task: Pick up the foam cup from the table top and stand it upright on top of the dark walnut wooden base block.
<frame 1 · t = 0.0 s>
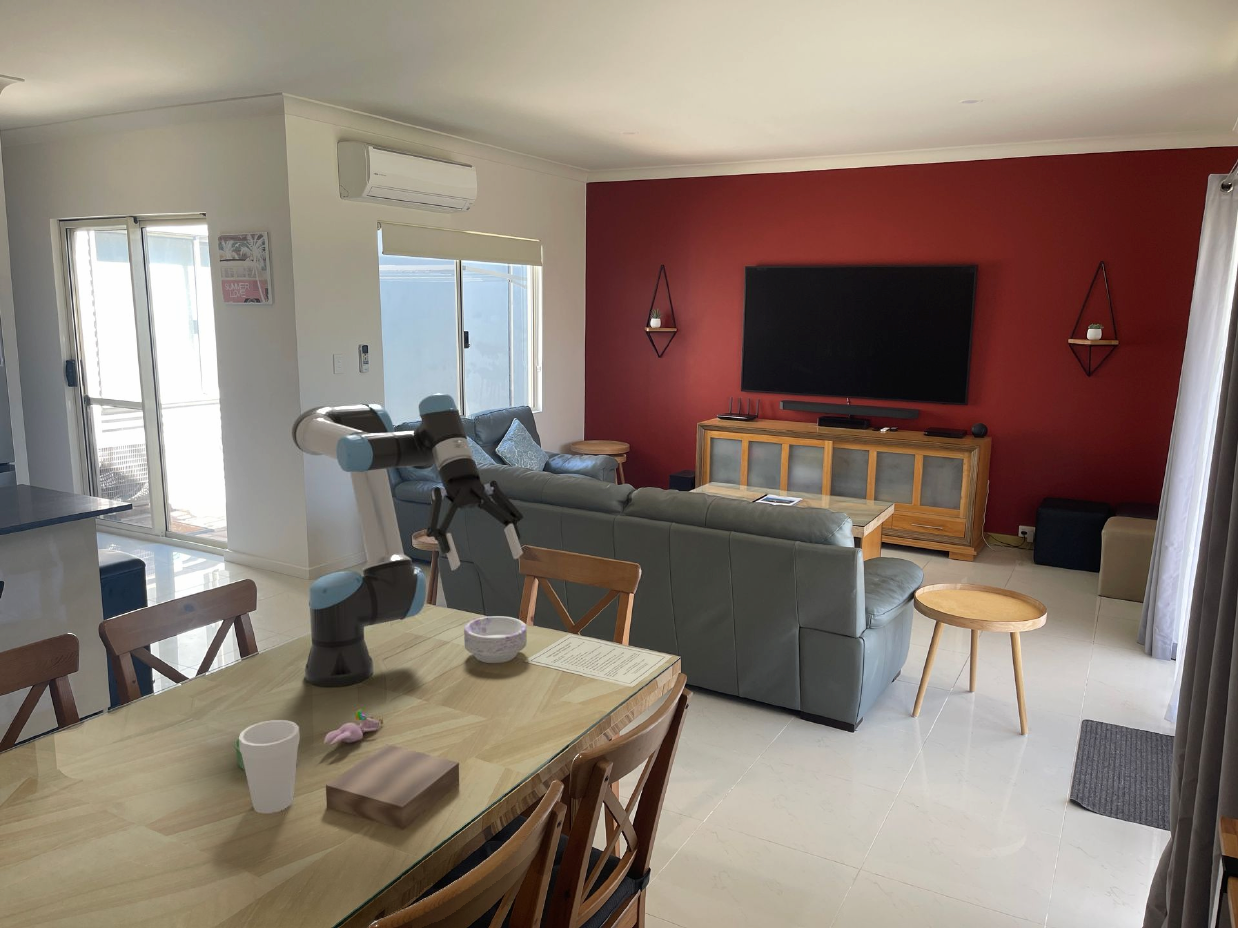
hand: (488, 561, 170), 36 cm above the table, tool tilted 35°, fingers open, 13 cm apart
rabbit figure: (354, 741, 174), on the table
ramekin: (261, 762, 165), on the table
foam cup: (273, 804, 151), on the table
white bowl: (495, 657, 217), on the table
walnut base: (394, 794, 154), on the table
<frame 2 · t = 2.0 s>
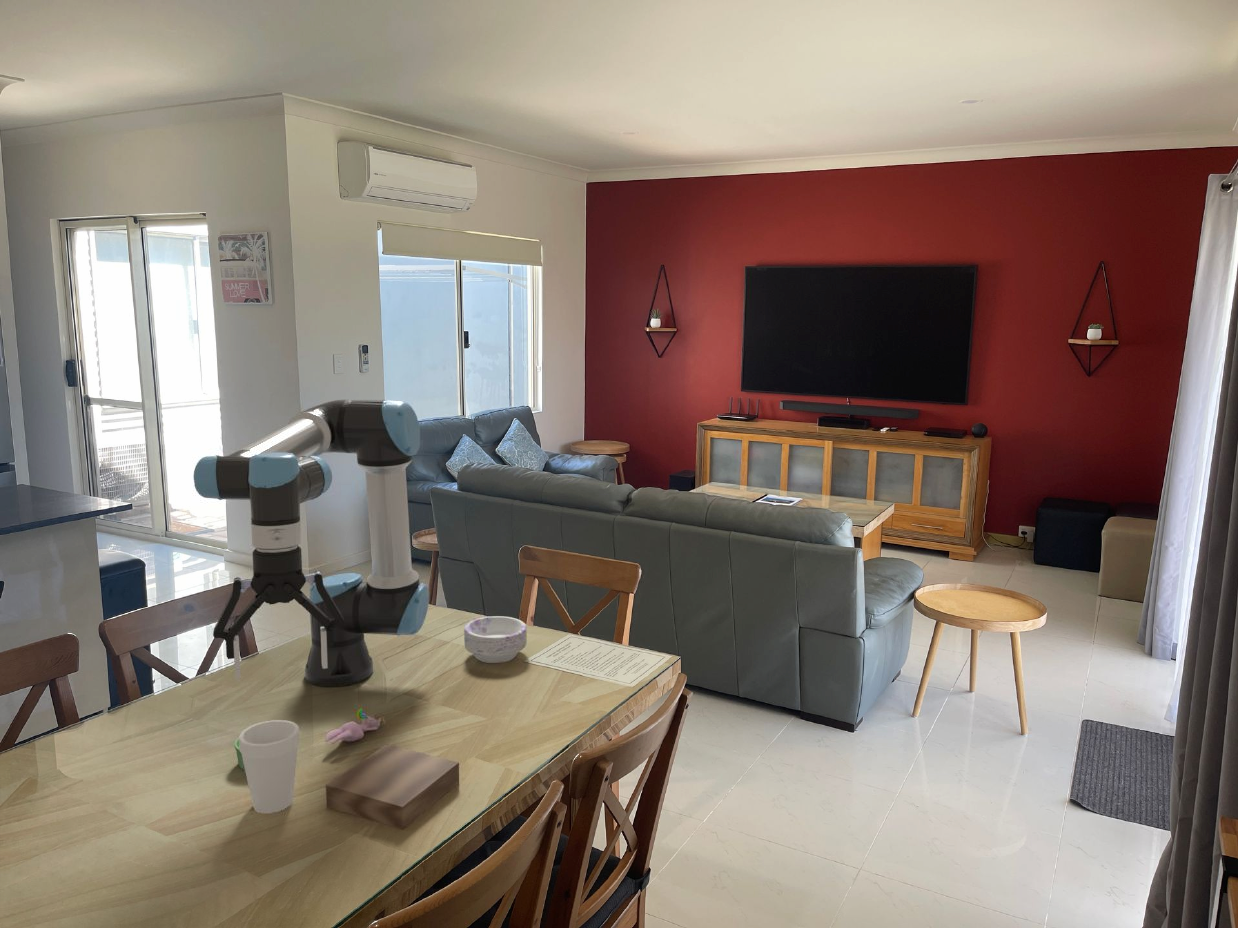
hand: (282, 671, 148), 24 cm above the table, tool pointing down, fingers open, 13 cm apart
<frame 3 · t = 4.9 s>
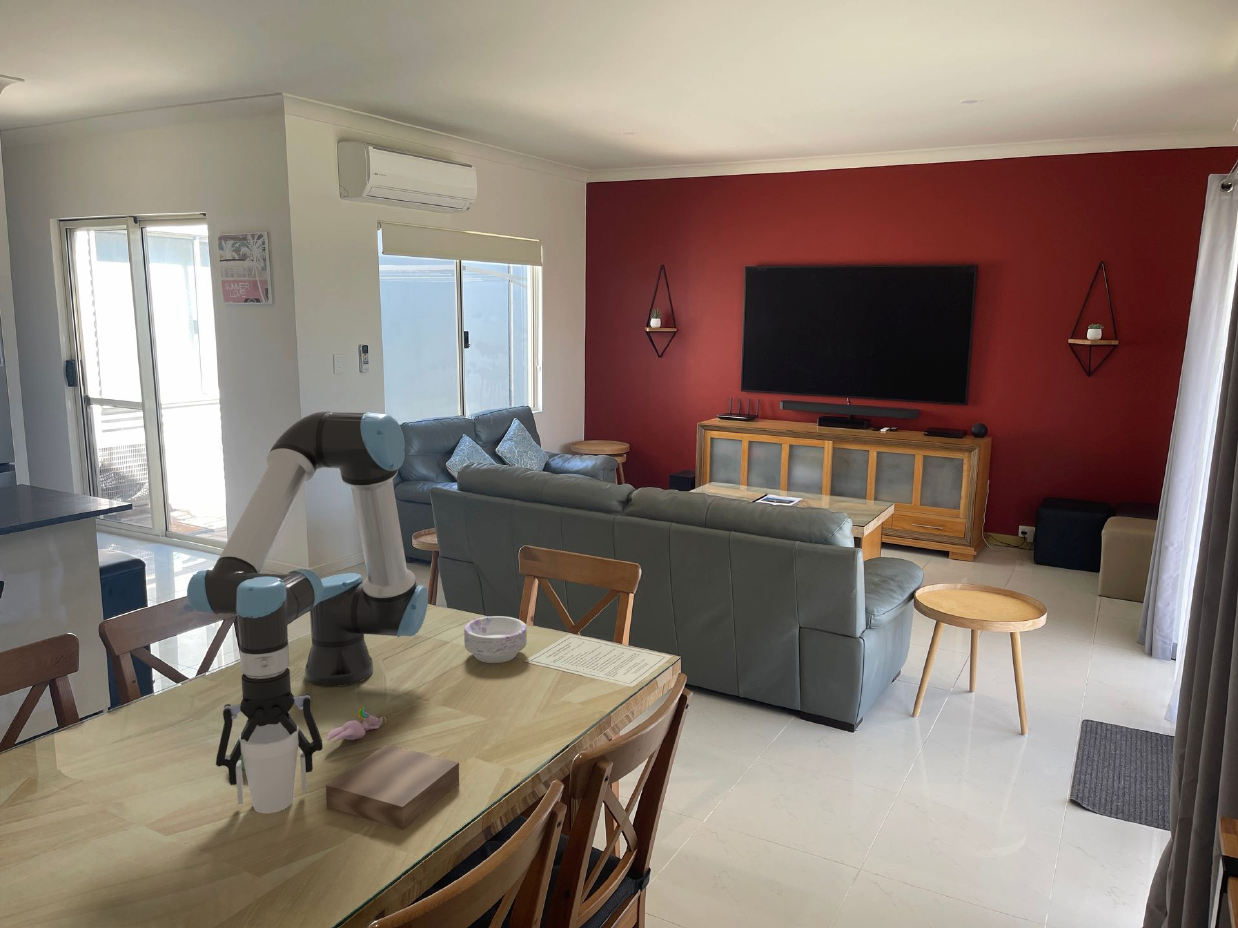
hand: (272, 794, 151), 2 cm above the table, tool pointing down, fingers closed on foam cup, 9 cm apart
foam cup: (273, 804, 151), on the table, touching gripper
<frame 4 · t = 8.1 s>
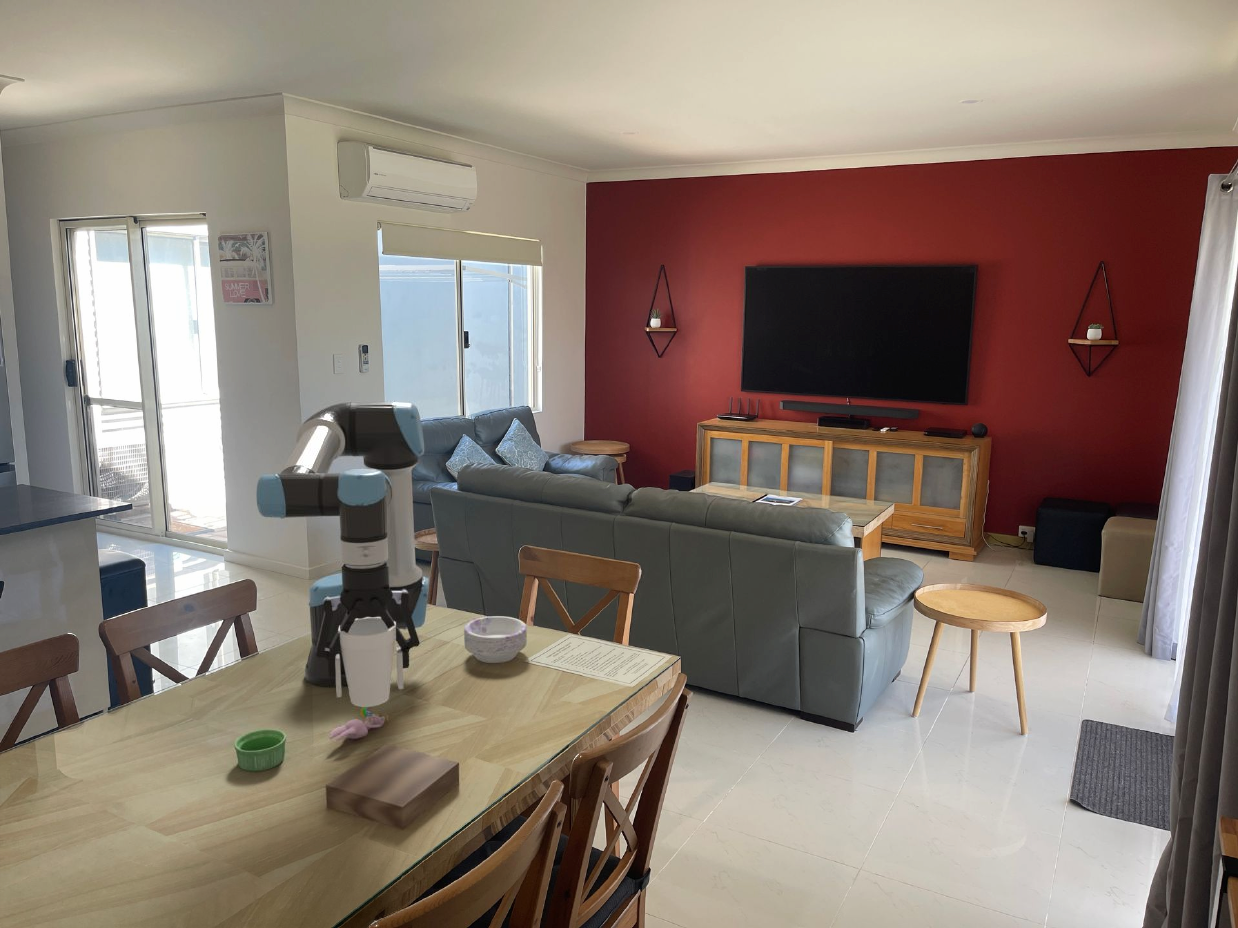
hand: (370, 689, 150), 20 cm above the table, tool pointing down, fingers closed on foam cup, 9 cm apart
foam cup: (370, 699, 150), point 18 cm above the table, touching gripper
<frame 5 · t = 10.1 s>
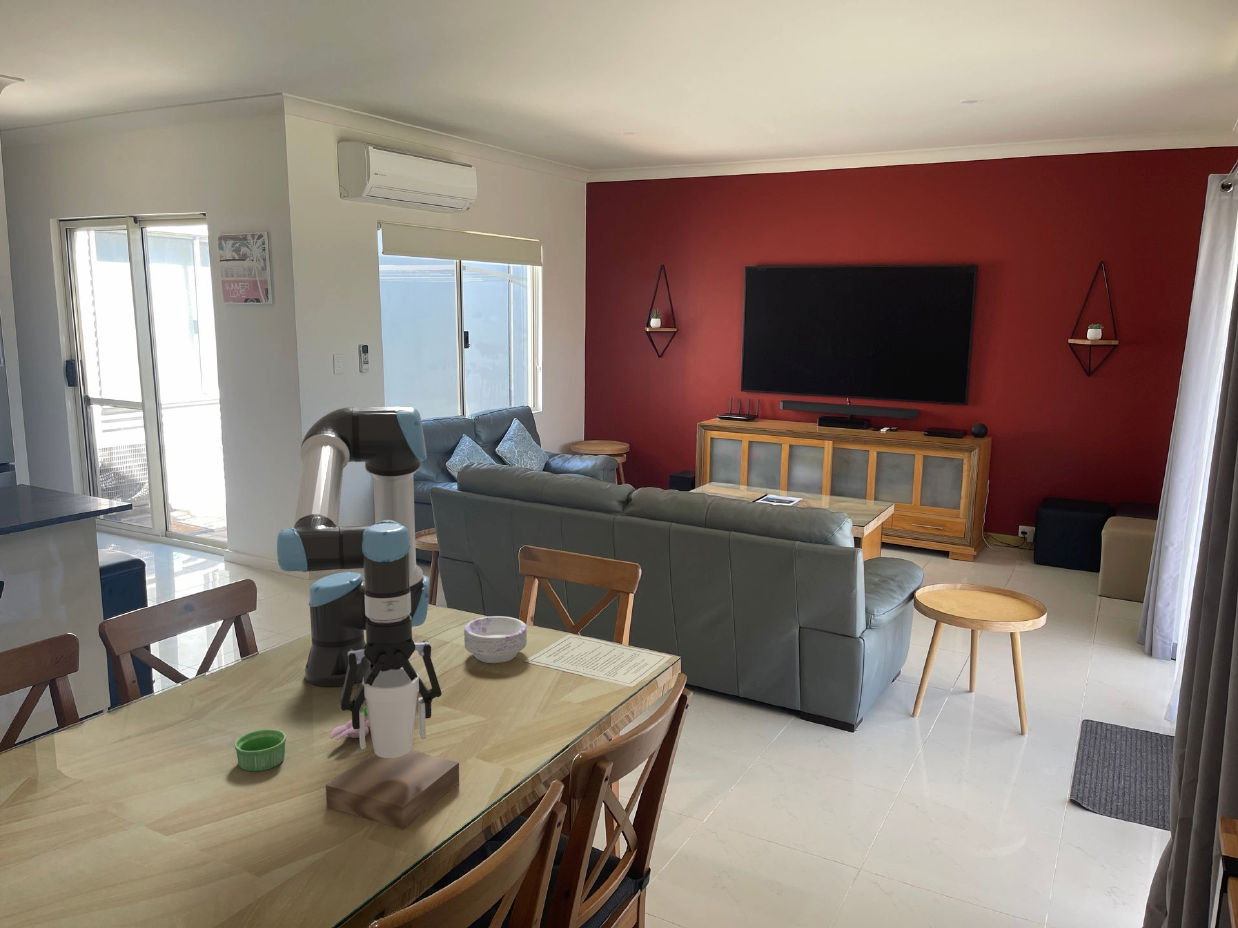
hand: (392, 740, 152), 10 cm above the table, tool pointing down, fingers closed on foam cup, 9 cm apart
foam cup: (393, 750, 152), point 8 cm above the table, touching gripper
when the fingers open (7 cm above the table, at t = 11.7 s): foam cup drops 1 cm, resting on walnut base.
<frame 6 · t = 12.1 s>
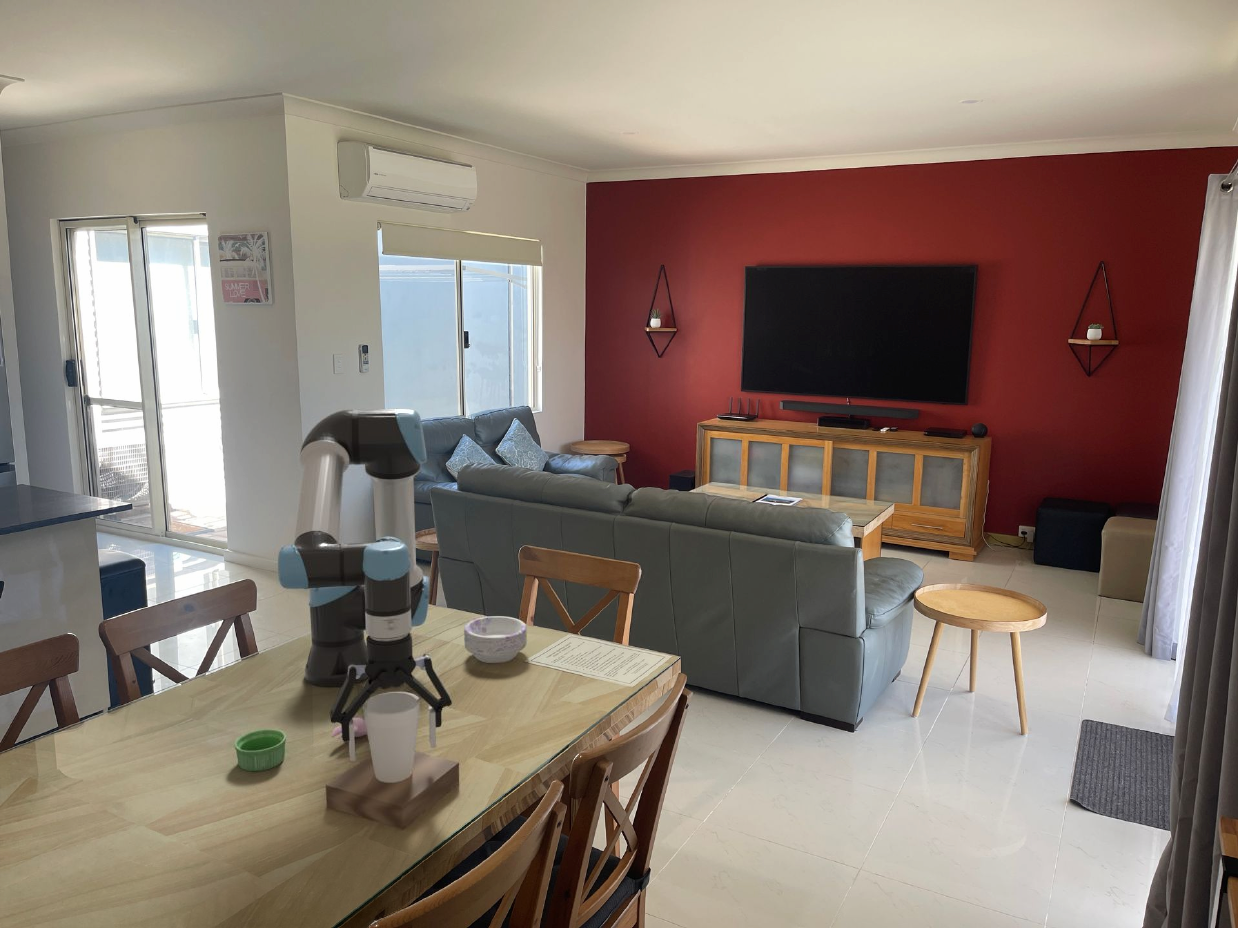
hand: (393, 750, 153), 8 cm above the table, tool pointing down, fingers open, 13 cm apart
foam cup: (394, 774, 153), point 4 cm above the table, touching walnut base
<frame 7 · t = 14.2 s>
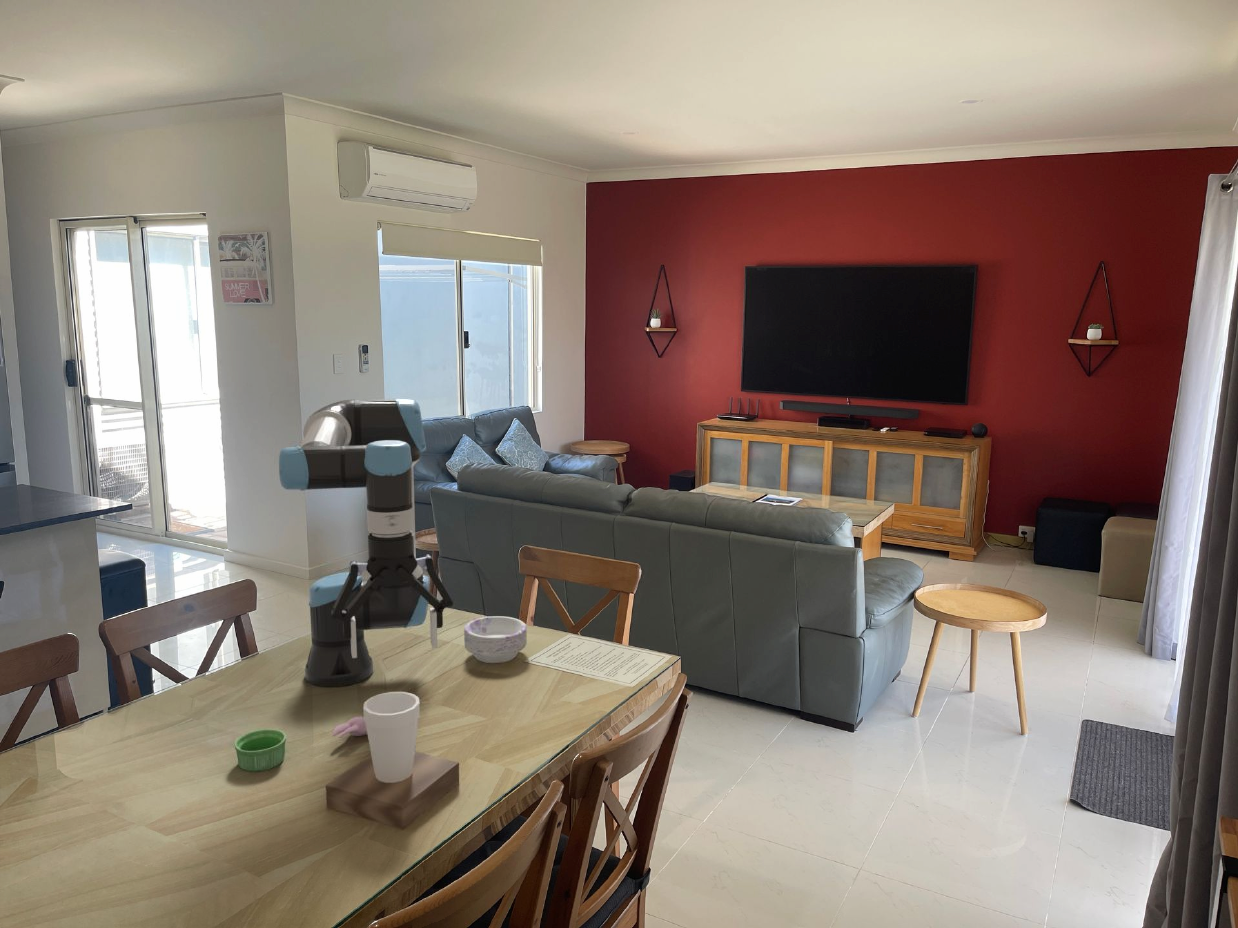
hand: (394, 650, 154), 25 cm above the table, tool pointing down, fingers open, 13 cm apart
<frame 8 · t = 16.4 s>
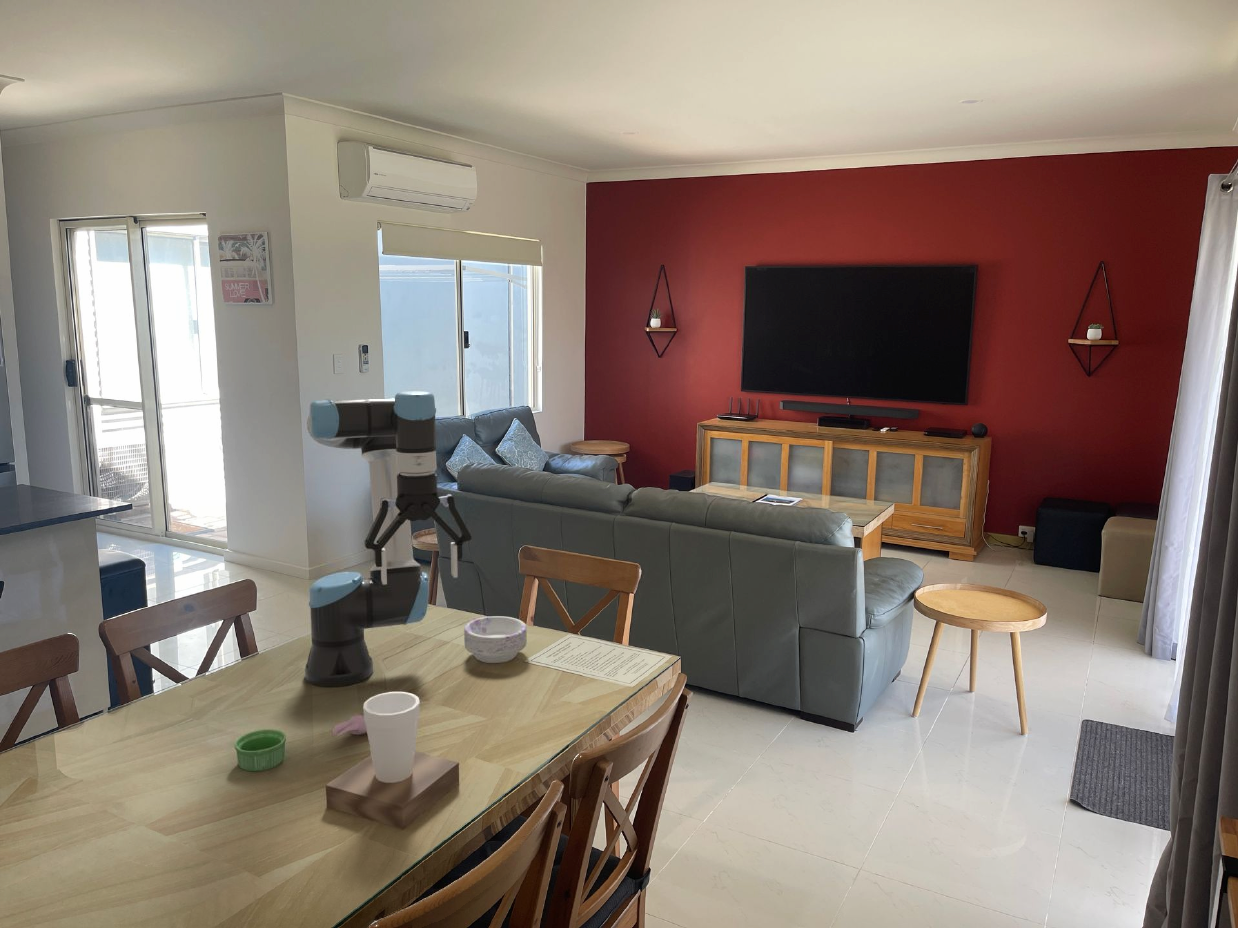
hand: (419, 579, 173), 32 cm above the table, tool pointing down, fingers open, 13 cm apart
at the end: foam cup inside the target area on the walnut base (0.0 cm from its centre), point 3.8 cm above the walnut base's base; foam cup tilted 0°; the gripper is holding nothing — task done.
